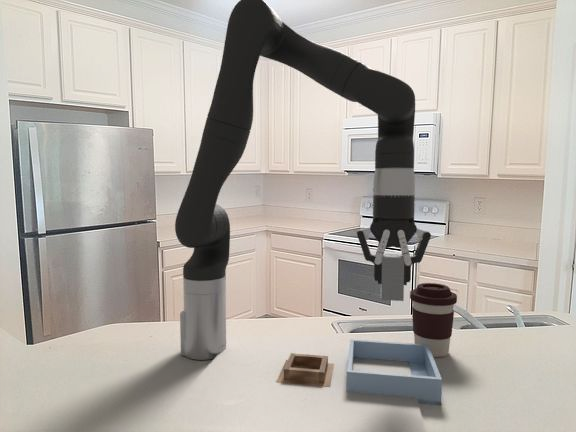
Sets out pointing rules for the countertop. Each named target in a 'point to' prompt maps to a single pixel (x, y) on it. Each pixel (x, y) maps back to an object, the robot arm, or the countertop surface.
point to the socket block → (307, 370)
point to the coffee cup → (433, 316)
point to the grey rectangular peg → (392, 277)
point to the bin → (418, 384)
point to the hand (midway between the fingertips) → (392, 283)
